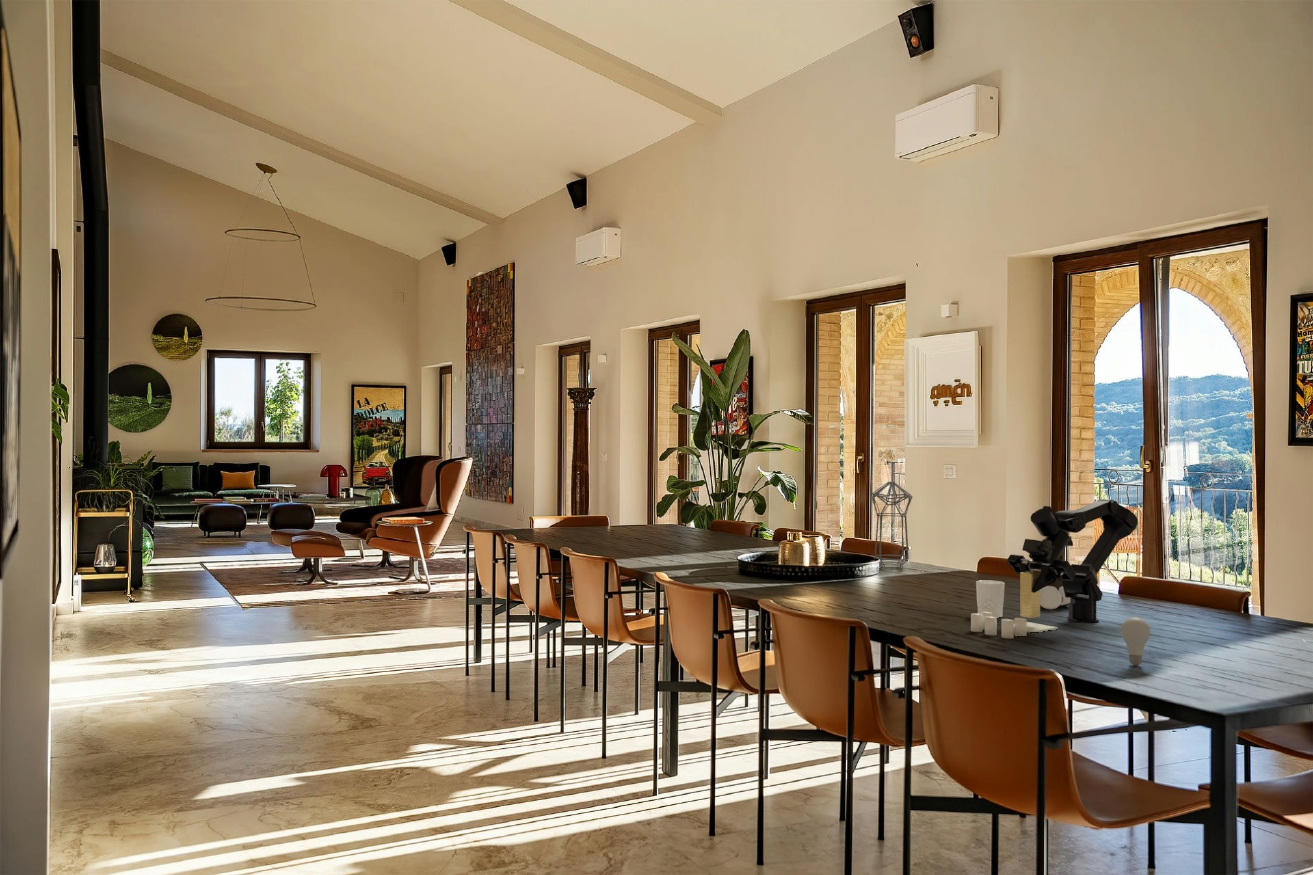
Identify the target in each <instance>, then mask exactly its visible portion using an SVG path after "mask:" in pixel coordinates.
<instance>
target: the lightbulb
mask: <svg viewBox="0 0 1313 875" xmlns="http://www.w3.org/2000/svg"><path fill="white" fill-rule="evenodd" d="M1120 632H1121V633H1120V634H1121V636H1122V638H1123V640H1124V641H1125V643H1126V647H1127V653H1128V659H1129V663H1130V664H1132V665H1133V666H1134V667H1138V666H1139V665H1141V664H1142V662H1143V655H1144V648H1145V646H1146V643H1147V642H1148V641H1149V639H1150V637H1151V628H1150V626H1149V624H1148V623H1147V621H1145V620H1144V619H1142V618H1140V617H1130V618H1127V619H1126V620H1124V621H1123V623H1122V625H1121V626H1120Z"/></svg>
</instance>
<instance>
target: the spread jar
mask: <svg viewBox="0 0 1313 875" xmlns="http://www.w3.org/2000/svg"><path fill="white" fill-rule="evenodd" d="M1062 575H1063V573H1062ZM1062 575H1060V576H1059V581H1058V582H1057V581H1056V582H1054V583H1052V584H1050V585H1048V586H1046V587H1044V588H1042V589H1040V607H1042V608H1044V609H1046V610H1054V609H1055V610H1056V609H1064V608H1065V609H1066V608H1067V607H1069V603H1070V598H1067V597H1065V593H1064V589H1063V584H1062V581H1063V578H1062Z"/></svg>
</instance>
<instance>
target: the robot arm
mask: <svg viewBox="0 0 1313 875" xmlns="http://www.w3.org/2000/svg"><path fill="white" fill-rule="evenodd" d="M1029 519H1030V522H1031V523H1032V525H1033V526H1034V527H1035V528H1036V530H1037V532H1038V533H1039V534H1040V536H1042V537H1044V539H1042V540H1038V539H1034V538H1033V539H1032V538H1025V539H1024V541H1023V545H1022V551H1024V552H1026V553H1028V557H1029V558H1030V559H1031V560H1030V559H1028V558H1026V557H1025V556H1024V555H1022V554H1013V553H1012V554H1009V556H1008V558H1007V559H1006V562H1007V563H1008V565H1009V566H1010V567H1011V569H1012V570H1013V572H1014V573H1015V574H1017V575H1020V572H1028V571H1030V572H1034V571H1039V573H1040V575H1039V577H1038V579H1037V580H1036V582H1035V584H1034V586H1033V588H1032V592H1033V593H1035V592H1037V591H1039V590H1040V589H1042V588H1044V587H1046V586H1048V585H1050V584H1052V583H1054V582H1056V581H1057V582H1058V581H1059V576H1060V575H1062V573H1063V575H1062V578H1063V581H1062V584H1063V589H1064V593H1065V597H1067V598H1070V603H1069V605H1068V616H1067V617H1066V618H1067V619H1069V620H1071V621H1074V622H1077V623H1099V622H1100V620H1099V619H1097V602H1100V601H1102V598H1103V591H1102V590H1101V589H1100V587H1099V586H1098V584H1099V580H1098V578H1099V577H1098V574H1099V572H1100V571H1101V569H1102V567H1103V566H1104V564H1105V563H1106V561H1107V560H1108V558H1109V557H1110V555H1111V554H1112V552H1113V551H1114V549H1115V548H1116V546H1117V545H1118V543H1119V542H1120V541H1121V540H1122V539H1124V538H1126V537H1129V536H1130V535H1131V534H1132V533H1134V531H1135V530H1136V529H1137V526H1138V523H1139V522H1138V521H1139V520H1138V517H1137V516H1136V515H1135V513H1134V512H1133V511H1132V510H1130V509H1128V508H1127V507H1126V506H1125V507H1124V506H1123V505H1121V504H1119V502H1118V501H1116V500H1114V499H1108V498H1099V499H1098V500H1096V501H1094V502H1092V503H1089V504H1086V505H1084V506H1082V507H1080V508H1077V509H1069V510H1058V511H1056V512H1054V511H1053V508H1052V506H1050V505H1049V506H1048V505H1043V506H1042V508H1040V509H1037V510H1035V511H1034V512H1033V513H1032V514H1031V515H1030V518H1029ZM1097 519H1100V520H1101V521H1102V528H1103V531H1102V533H1101V534H1100V536H1099V537H1098V538H1097V540H1096V542H1095V543H1094V544H1093V546H1092V547H1091V549H1090V550H1089V552H1088V553H1087V555H1086V556H1085V558H1084V559H1083V561H1082V562H1081V563H1080V564H1076V563H1072V564H1071V563H1070V562H1069V561H1068V560H1065V559H1064V558H1063V556H1062V554H1063V552H1064V551H1065V549H1066V546H1067V547H1073V546H1074V542H1073V540H1072V536H1070V535H1069V534H1068V533H1072V534H1073V533H1075V534H1076V533H1080V532H1081V531H1082V530H1084V529H1085V528H1086V527H1087V526H1086V525H1087V524H1089V523H1090V522H1093V521H1095V520H1097ZM1063 559H1064V560H1063Z"/></svg>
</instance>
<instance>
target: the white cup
mask: <svg viewBox="0 0 1313 875" xmlns="http://www.w3.org/2000/svg"><path fill="white" fill-rule="evenodd" d="M975 586H976V587H975V588H976V605H977V613H978V614H981V612H992V617H997V619H1000V618H999V617H1001V618H1002V617H1003V612H1004V611H1003V608H1004V599H1005V582H1004V581H1000V580H991V579H989V580H987V579H986V580H985V579H983V580H982V579H980V580H976V581H975Z"/></svg>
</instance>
